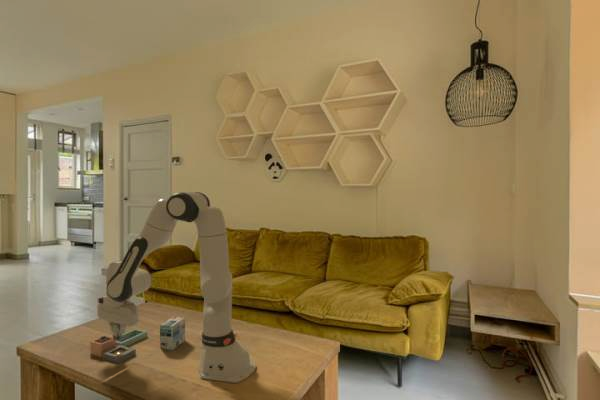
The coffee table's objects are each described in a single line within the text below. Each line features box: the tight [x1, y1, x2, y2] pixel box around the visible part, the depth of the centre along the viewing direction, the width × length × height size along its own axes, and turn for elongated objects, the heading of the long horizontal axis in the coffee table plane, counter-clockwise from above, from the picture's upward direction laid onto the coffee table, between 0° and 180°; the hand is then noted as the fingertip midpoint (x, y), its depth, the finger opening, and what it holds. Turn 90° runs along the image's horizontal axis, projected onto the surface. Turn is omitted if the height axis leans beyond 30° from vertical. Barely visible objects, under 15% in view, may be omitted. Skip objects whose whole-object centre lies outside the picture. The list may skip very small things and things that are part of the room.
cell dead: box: [99, 335, 108, 343], centre depth 143 cm, size 3×3×6 cm
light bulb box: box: [159, 316, 186, 351], centre depth 152 cm, size 11×7×11 cm, turn 168°
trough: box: [116, 328, 148, 347], centre depth 154 cm, size 8×14×3 cm, turn 157°
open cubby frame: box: [89, 335, 116, 358], centre depth 143 cm, size 7×7×6 cm
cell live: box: [112, 323, 122, 340], centre depth 139 cm, size 3×3×6 cm
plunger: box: [113, 350, 125, 355], centre depth 139 cm, size 5×5×1 cm
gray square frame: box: [101, 345, 137, 364], centre depth 139 cm, size 10×8×3 cm
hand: (117, 332), depth 139 cm, fingers closed on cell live, 3 cm apart
